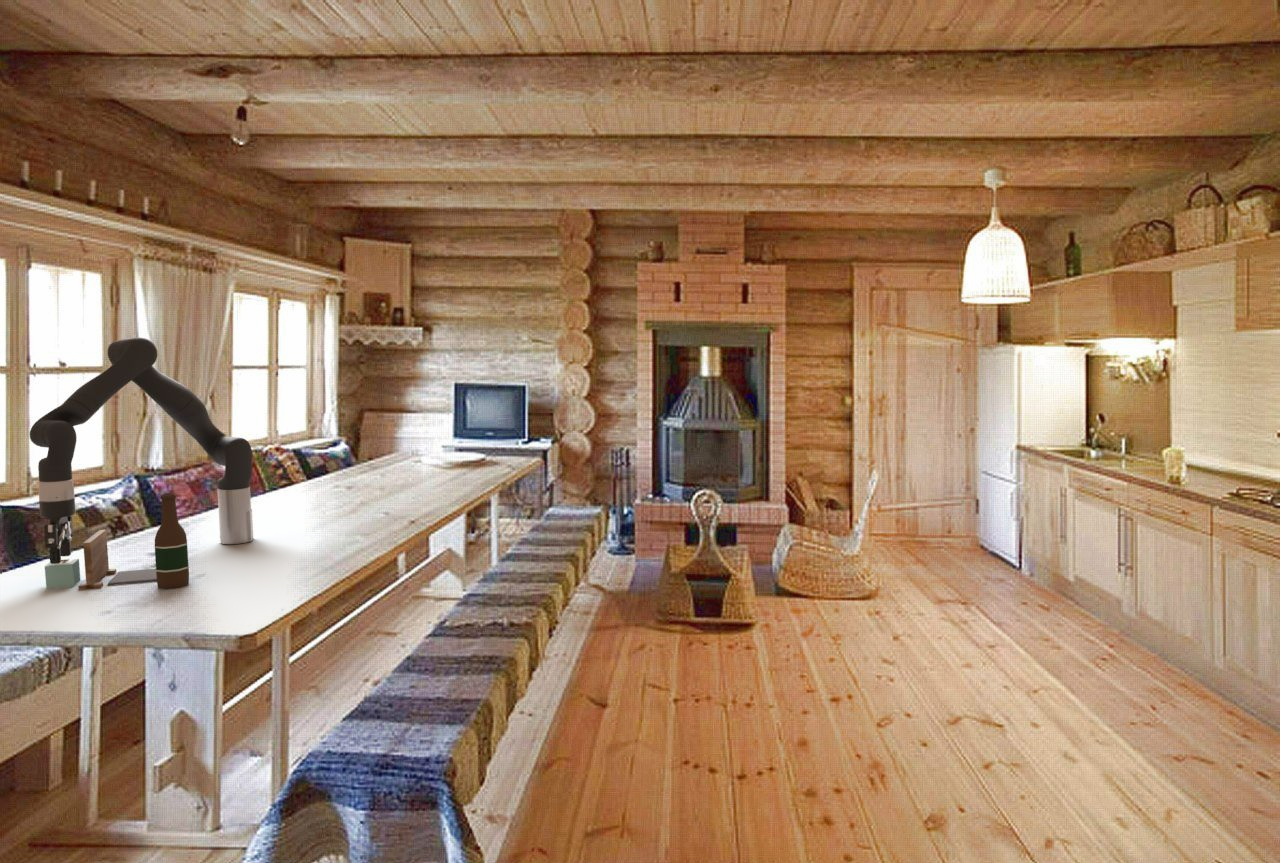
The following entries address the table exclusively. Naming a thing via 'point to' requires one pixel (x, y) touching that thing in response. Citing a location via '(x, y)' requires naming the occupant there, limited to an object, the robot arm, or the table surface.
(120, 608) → the table surface
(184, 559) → the beer bottle
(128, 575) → the mat
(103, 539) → the wooden footed board
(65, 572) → the letter cube
